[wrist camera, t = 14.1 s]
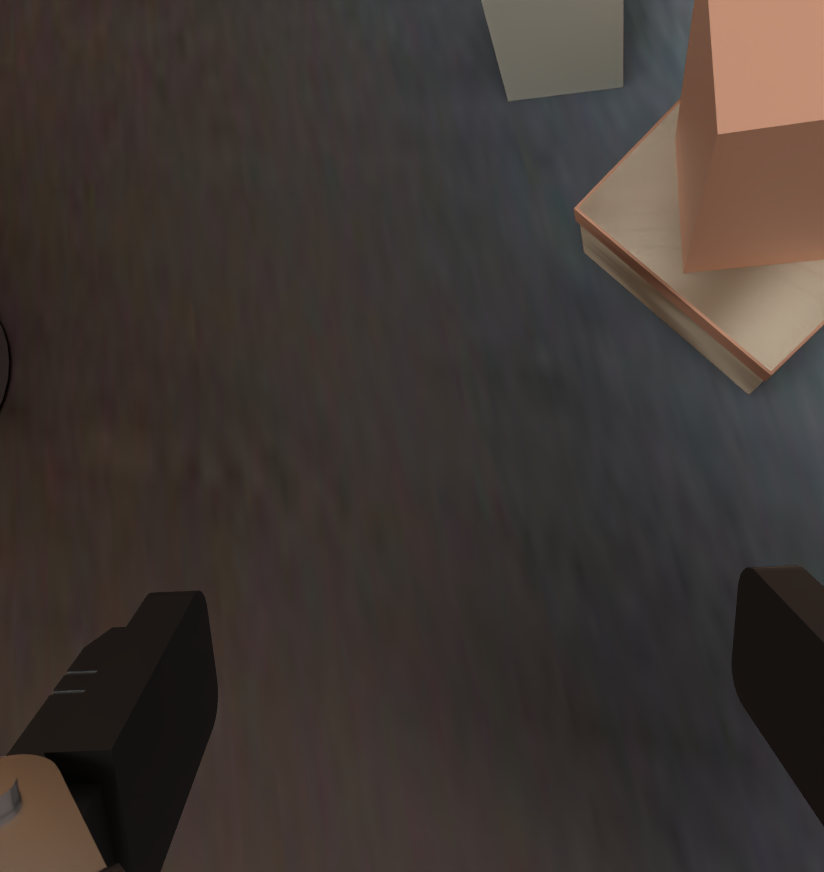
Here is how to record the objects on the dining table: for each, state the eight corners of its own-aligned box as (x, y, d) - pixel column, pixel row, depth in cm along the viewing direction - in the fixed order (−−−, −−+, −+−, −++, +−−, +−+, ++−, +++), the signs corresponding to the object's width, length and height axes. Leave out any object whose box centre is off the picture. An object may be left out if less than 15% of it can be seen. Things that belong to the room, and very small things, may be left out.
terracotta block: (683, 273, 27) (717, 134, 18) (674, 139, 28) (703, -65, 18) (840, 257, 26) (968, 99, 16) (827, 118, 27) (944, -114, 17)
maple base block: (580, 254, 33) (574, 208, 29) (738, 93, 32) (758, 17, 28) (747, 399, 31) (770, 375, 26) (923, 229, 30) (980, 172, 25)
